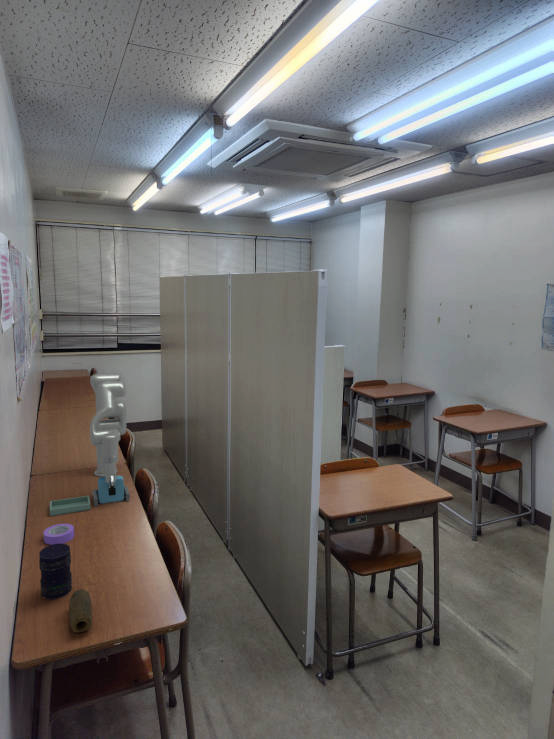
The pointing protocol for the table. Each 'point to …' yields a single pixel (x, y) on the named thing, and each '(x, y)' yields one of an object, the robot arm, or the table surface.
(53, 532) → the masking tape
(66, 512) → the tray
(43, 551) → the storage jar
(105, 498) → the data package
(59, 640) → the table surface
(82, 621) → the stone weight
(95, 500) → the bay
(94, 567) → the table surface
